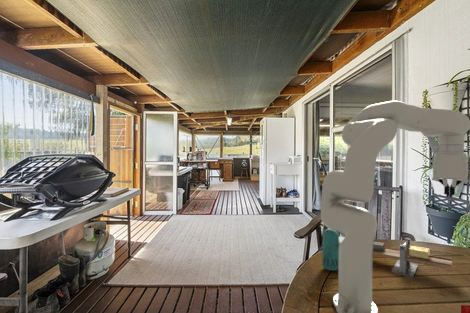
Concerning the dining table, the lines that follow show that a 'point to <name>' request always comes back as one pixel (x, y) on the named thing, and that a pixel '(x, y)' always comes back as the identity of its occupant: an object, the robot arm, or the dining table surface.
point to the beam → (433, 261)
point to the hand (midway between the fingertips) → (449, 196)
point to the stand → (404, 262)
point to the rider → (419, 252)
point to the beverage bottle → (330, 249)
